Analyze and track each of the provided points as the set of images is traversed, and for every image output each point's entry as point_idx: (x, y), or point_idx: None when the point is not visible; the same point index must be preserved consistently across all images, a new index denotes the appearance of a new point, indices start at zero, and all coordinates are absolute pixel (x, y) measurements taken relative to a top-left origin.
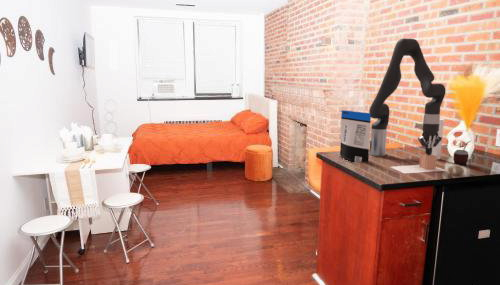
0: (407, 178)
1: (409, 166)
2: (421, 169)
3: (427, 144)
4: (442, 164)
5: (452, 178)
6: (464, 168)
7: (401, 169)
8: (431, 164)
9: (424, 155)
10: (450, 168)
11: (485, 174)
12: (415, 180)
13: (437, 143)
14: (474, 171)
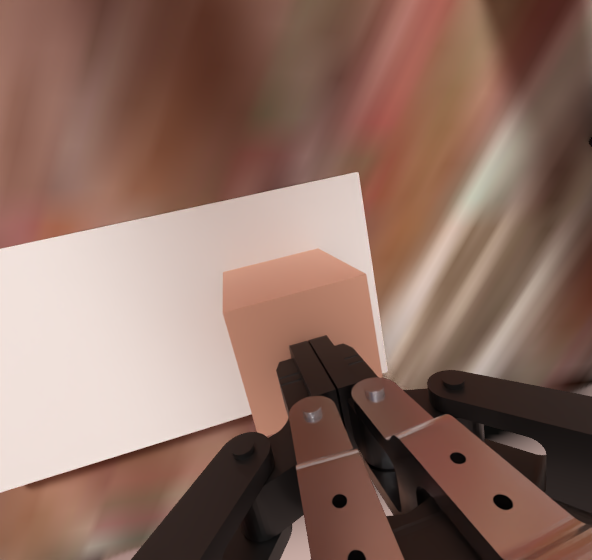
0: (32, 518)
1: (127, 260)
2: (207, 359)
3: (342, 450)
4: (499, 97)
5: None
6: (568, 231)
7: (5, 374)
8: None
9: (252, 375)
10: (481, 231)
11: (581, 366)
12: (83, 550)
13: (533, 478)
14: (572, 305)
